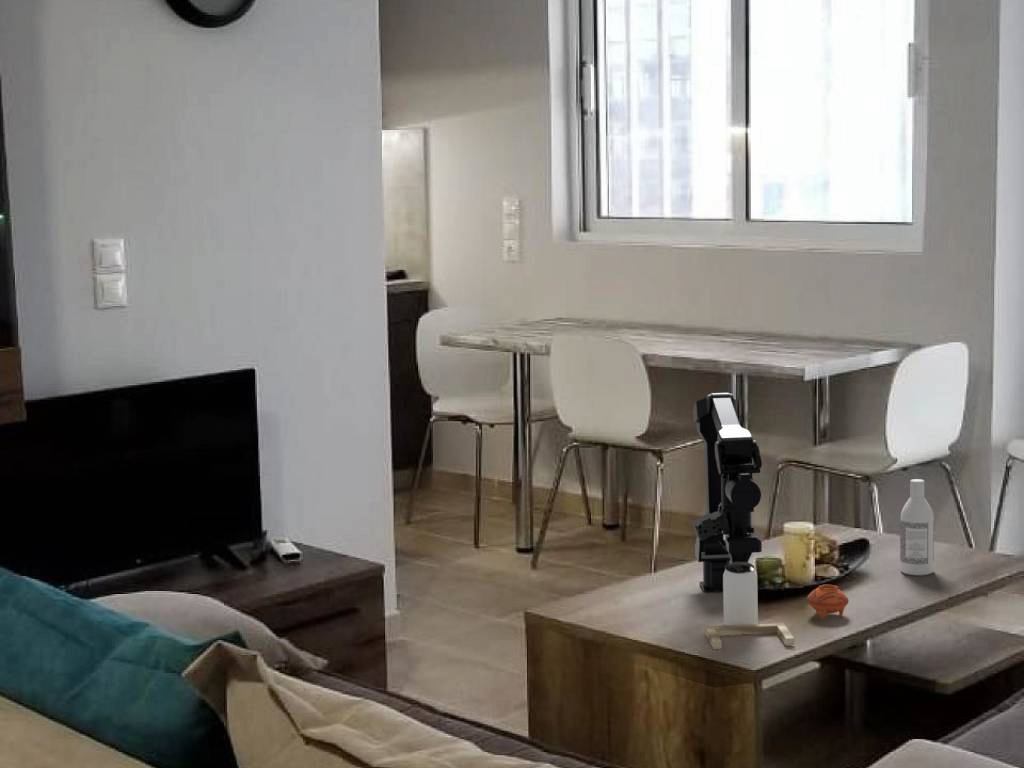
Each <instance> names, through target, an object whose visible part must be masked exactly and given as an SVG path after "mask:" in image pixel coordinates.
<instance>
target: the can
mask: <svg viewBox="0 0 1024 768" xmlns="http://www.w3.org/2000/svg"><path fill="white" fill-rule="evenodd" d="M755 569H756V566H755V565H754V564H753V563H750V562H748V563H747V562H733V563H731V562H730V563H729V564H727V565H726V566H725V571H724V574H723V591H722V594H723V595H722V597H723V598H722V599H723V624H724V625H723V626H730V625H753V624H759V623H758V622H759V619H758V618H759V609H758V607H759V606H758V605H759V604H758V601H759V600H758V594H759V593H758V573H757V571H756V570H755Z"/></svg>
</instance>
